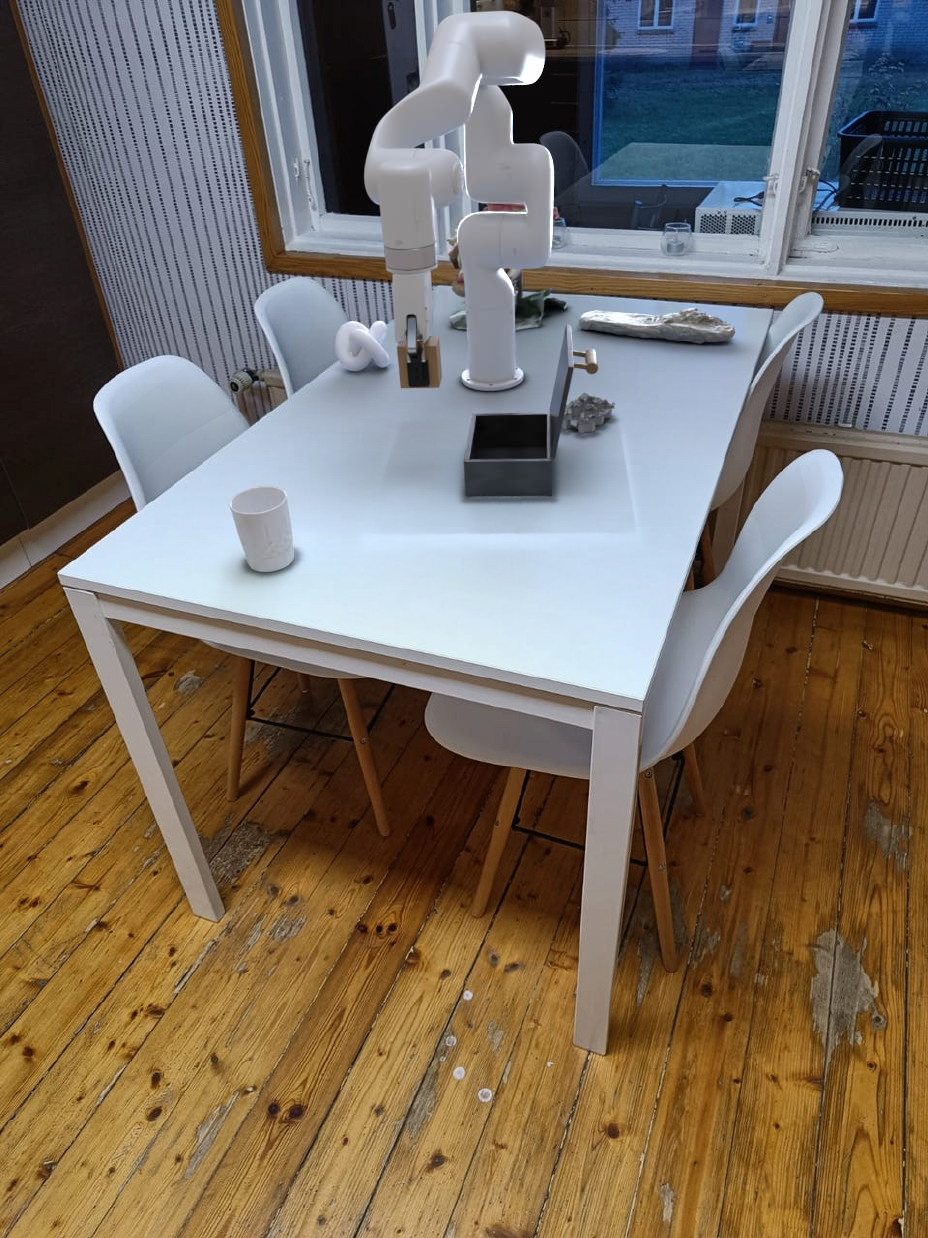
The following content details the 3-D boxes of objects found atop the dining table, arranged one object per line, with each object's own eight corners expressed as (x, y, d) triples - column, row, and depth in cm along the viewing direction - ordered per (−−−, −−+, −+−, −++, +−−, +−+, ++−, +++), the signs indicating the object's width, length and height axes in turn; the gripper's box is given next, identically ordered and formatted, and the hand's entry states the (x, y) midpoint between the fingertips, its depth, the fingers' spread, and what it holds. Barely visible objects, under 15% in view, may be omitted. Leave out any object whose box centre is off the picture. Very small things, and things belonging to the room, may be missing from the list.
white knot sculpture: (359, 352, 192) (354, 312, 187) (406, 358, 188) (402, 317, 182) (332, 370, 184) (325, 328, 179) (380, 377, 180) (375, 334, 174)
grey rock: (587, 439, 151) (588, 418, 149) (552, 430, 155) (552, 408, 153) (618, 417, 158) (619, 396, 155) (583, 409, 162) (584, 388, 159)
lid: (568, 366, 122) (603, 371, 122) (565, 324, 136) (597, 329, 136) (549, 457, 130) (582, 462, 130) (549, 409, 145) (578, 413, 145)
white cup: (247, 547, 128) (233, 488, 122) (300, 543, 128) (288, 483, 122) (241, 577, 122) (225, 516, 116) (296, 572, 122) (284, 511, 116)
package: (400, 388, 132) (396, 346, 129) (404, 377, 136) (400, 335, 132) (439, 387, 132) (436, 345, 128) (442, 376, 136) (439, 334, 132)
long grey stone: (587, 324, 203) (573, 340, 196) (587, 301, 200) (572, 317, 193) (739, 331, 189) (728, 348, 182) (740, 307, 185) (730, 324, 179)
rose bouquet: (465, 296, 221) (458, 166, 203) (574, 304, 212) (577, 168, 194) (423, 328, 203) (412, 189, 185) (541, 339, 193) (541, 193, 175)
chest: (465, 500, 136) (463, 461, 132) (473, 449, 150) (471, 413, 146) (551, 500, 135) (552, 460, 131) (551, 448, 149) (551, 412, 145)
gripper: (393, 242, 130) (404, 360, 141) (376, 273, 116) (390, 401, 127) (442, 240, 129) (449, 359, 140) (431, 272, 116) (440, 400, 127)
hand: (421, 378), depth 134 cm, fingers closed on package, 4 cm apart
